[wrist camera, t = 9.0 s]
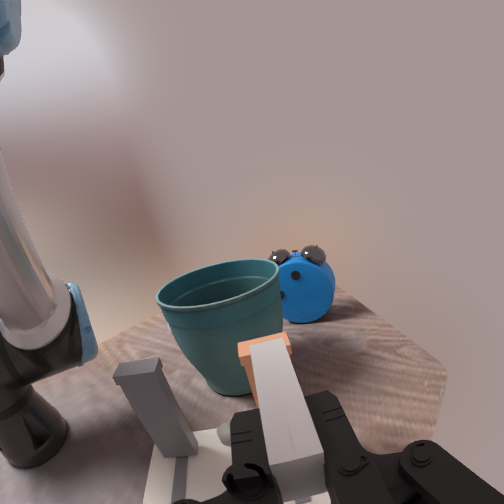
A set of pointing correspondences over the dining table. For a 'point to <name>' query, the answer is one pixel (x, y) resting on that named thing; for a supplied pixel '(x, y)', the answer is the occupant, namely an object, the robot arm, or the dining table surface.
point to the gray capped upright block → (156, 406)
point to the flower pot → (223, 316)
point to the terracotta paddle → (247, 362)
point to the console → (198, 472)
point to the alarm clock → (304, 283)
